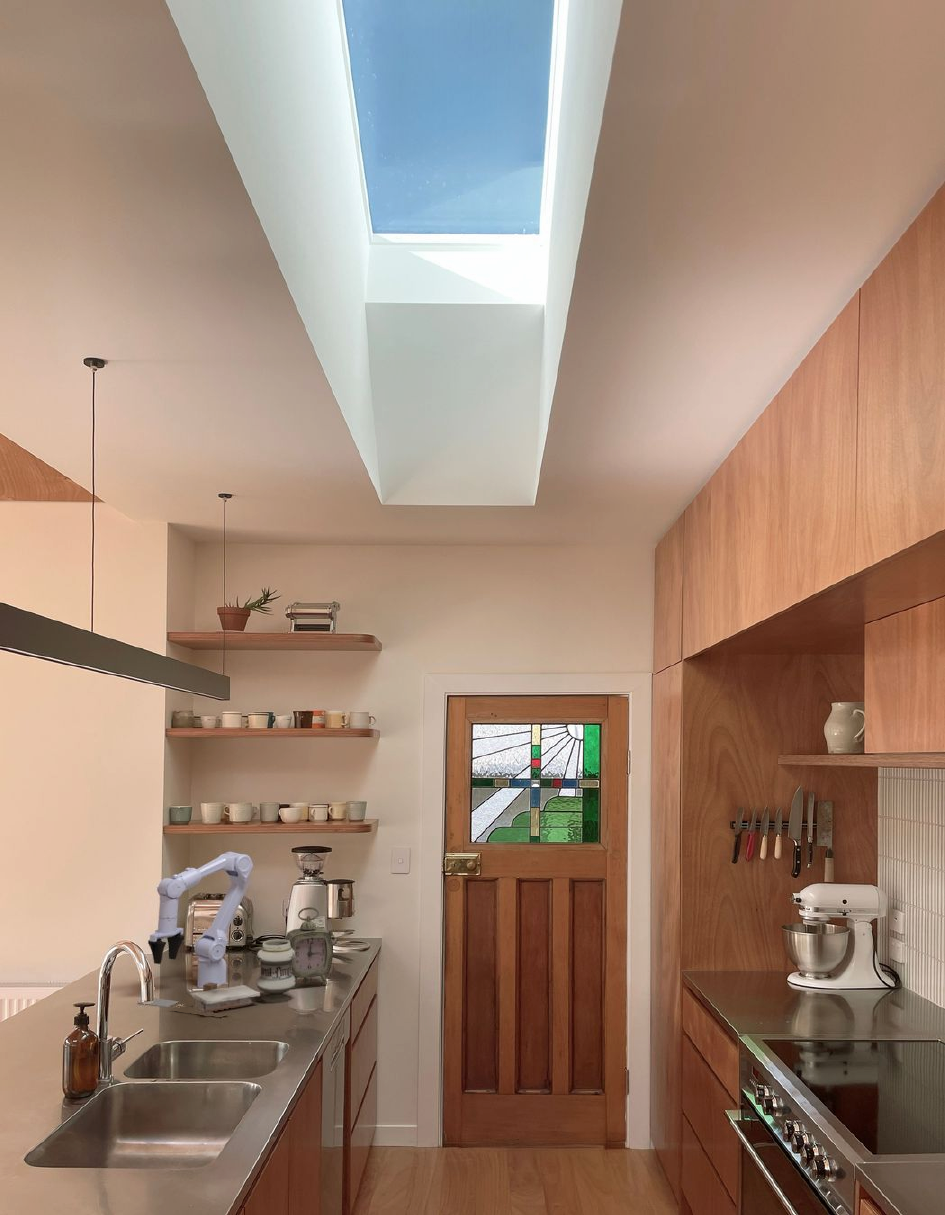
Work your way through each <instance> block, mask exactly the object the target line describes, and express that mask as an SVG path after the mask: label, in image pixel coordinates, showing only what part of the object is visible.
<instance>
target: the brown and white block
mask: <svg viewBox="0 0 945 1215" xmlns="http://www.w3.org/2000/svg"><path fill="white" fill-rule="evenodd" d="M214 989H218V987H217V983H210V982H209V983H207V984H204V985H203V988H202V992H203V991H209V990H214Z"/></svg>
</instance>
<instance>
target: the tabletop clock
mask: <svg viewBox="0 0 945 1215" xmlns="http://www.w3.org/2000/svg"><path fill="white" fill-rule="evenodd" d="M307 910H314V911H315V912H316V913H317V914H316V916H313V917H311V916H309V915H307V916H306V918H304V917H301V916H300V914H302V912H303V911H307ZM319 912H320V911H319V910H318V909H317V908H315V907H311V906H310V907H307V906H306V907H303V908H301V910H299V911H298V913H297V917H298V918H299V919H300V920H301V921H304V922H302V923H301V925H300V928H295V929H291V930H289V931H287V933H286V935H285V938H284V940H289V941H290V946H291V948H293V949H294V951H295V958H294V959H293V960H292V963H291V965H292V975H293V976H294V977H295V979H296V980H297V978H299V979H302V978H303V979H302V983H303V984H307V983H308V978H314V977H316V978H317V977H320V978H321V980H322V983H321V984H322V985H324V986H326V985H327V984H328V980H327V979H325V978H324V976H325V975H326V974H328V973H329V972H330V970H331V969H332V962H333V941H332V937H331V934H330V933H329V932H328V931H327V930H325V929H324V928H320V927H317V925H316V924H315V922H313V920H315V919H317V918H318V916H319ZM296 986H297V985H296V984H295V985H294V987H293V988H292V989H295V988H296Z"/></svg>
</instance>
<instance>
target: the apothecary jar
mask: <svg viewBox="0 0 945 1215" xmlns="http://www.w3.org/2000/svg"><path fill="white" fill-rule="evenodd" d="M256 957H257V960H258V961H259V962H260V976H258V978H257V980H256V986H257V988H258V990H259V991H261V992H262V993H263V992H264V993H267V994H266V995H264V996H262V997H261V998H260V999H259V1002H260V1003H263V1002H264V1003H263V1004H267V1003H269V1004H276V1003H277V1004H278V1003H284V1002H288V1000H289V1001H291V1000H292V997H291V996H289V995H287V994H285V993H286V992H289V991H291V990H292V989H294V988H293V987H294V985H296V982H297V979H295V977H294V976H293V975H292V965H291V963H292V960H293V959H294V958H295V951H294V949H293V948H291V946H290V941H289V940H285V938H284V939H280V938H277V939H268V940H266V941H263V943H262V946H261V949H260V950H258V951H257V956H256ZM290 999H291V1000H290Z"/></svg>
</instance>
